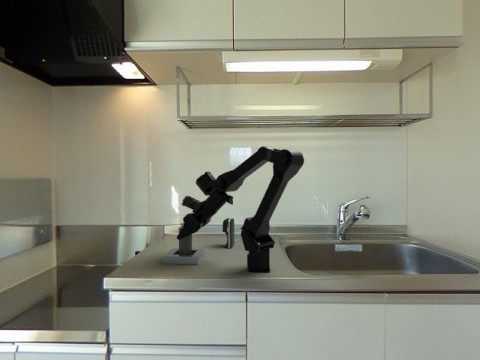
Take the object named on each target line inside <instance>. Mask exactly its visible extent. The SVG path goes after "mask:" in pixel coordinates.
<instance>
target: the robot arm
mask: <svg viewBox="0 0 480 360" xmlns="http://www.w3.org/2000/svg"><path fill="white" fill-rule="evenodd" d="M267 163H271V164H272V174H273V175H272V177H271V179H270V181H269V184H268V186H267V188H266V190H265V192H264V194H263V197H262V198H261V201H260V203H259V205H258V207H257V209H256V212H255V214H254V215H253V216H250V217H246V218H245V219H244V221H243V224H242V226H241V227H240V230H241V232H240V237H241V240H242V243H243V247H244V251H246V252H247V255H246V257H247V258H246V267H247V269H248V270H247V272H251V273H253V272H255V273H258V272H259V273H265V272H266V273H270V272H271V265H270V263H271V261H270V260H271V257H270V256H271V254H270V253H271V251H270V249H274V247H275V243H276V242H275V241H274V238H272V236H271V235H270V234H269V233H270V230H271V226H270V221H271V218H272V216H273V214H274V212H275V210H276V209H277V206H278V205H279V202H280V200H281V198H282V196H283V194H284V191H285V189H286V187H287V186H288V183H289V182H290V181H291V180H292V179H293V178H295V176H296V175H297V174H298V173H299V171H300V170H301V169H302V167H303V166H304V164H305V158H304V155H303V153H302V152H301V151H299V150H298V149H297V150H296V149H286V148H285V149H284V148H283V149H277V148H274V147H272V146H260V147H259V148H258V149H257V150H256V151H255V152H254V153H252V154H251V155H250V156H249V157H248V158H246V159H245V160H244V161H243V162H241V163H240V164H239V165H237V167H235V168H233V169H231V170H229V171H225V172H223V173H221V174H219V175H218V176H217V177H214V175H213V173H212V172H211V171H205V172H204V173H203V174H201V175H200V176H198V177H197V178H196V180H195V184H196V186H197V187H198V188H199V190H200V191H201V192H202V194H204V196H206V197H207V198H206V199H204V200H202V201H200V200H199V199H196V198H194V197H192V196H190V195H185V196H184V198H183V199H182V203H181V206H183V207H186V208H189V210H192V211H191V212H189V213H187V214H186V215H184V217H183V218H182V223H184V226H183V228H182V229H181V231H180V233H179V232H178V234H177V236H176V239H177V240H178V241H179V240H180V239H182V238H184V237H186V236H189V235H191V234H192V235H193V234H195V233H197V232H198V231H200V230H201V229H203V228H204V227H205V226H207V225H208V224H209V223H210V222H211V221H212V218H213V217H214V216H215V215H216V214H217V213H218V211H220V210H221V209H222V207H223V206H224V205H226V204H227V203H228V204H230V206H231V205H232V206H233V204H234V196H232V195H231V194H228V193H231V192H232V193H233V192H234V193H235V192H237V191H238V190H239V189H240V188H241V186H242V185H243V184H244V182H245V180H246V179H247V178H248V177H250V176H251V175H253V173H254V172H256V171H257V170H259V169H260V168H261V167H263V166H264V165H266V164H267Z"/></svg>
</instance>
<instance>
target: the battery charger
mask: <svg viewBox="0 0 480 360" xmlns="http://www.w3.org/2000/svg"><path fill="white" fill-rule="evenodd" d="M222 233H225V235H226V244H224V245H223V246H224V248H225V249H231V248H233V247H234V245H235V218H233V217H230V218H225V219H224V220H223V221H222Z"/></svg>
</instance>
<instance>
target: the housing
mask: <svg viewBox="0 0 480 360" xmlns="http://www.w3.org/2000/svg"><path fill="white" fill-rule="evenodd" d="M206 257H207V248H192V255H179V247H174V248H172V249H170V250H169V251H168V252H167V253H165V254H163V255H162V264H163V265H164V264H165V265H166V264H167V265H197V266H198V265H200V263H201V262H202V261H203V260H204V259H205V258H206Z"/></svg>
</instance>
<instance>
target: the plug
mask: <svg viewBox="0 0 480 360" xmlns="http://www.w3.org/2000/svg"><path fill="white" fill-rule="evenodd" d="M183 226H184V222H182V223H180V227H178V234H179V233H180V231H181V229H182V228H183ZM178 248H179V255H192V249H193V234H191V235H189V236H186V237H184V238H182V239H180V240H178Z"/></svg>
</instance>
